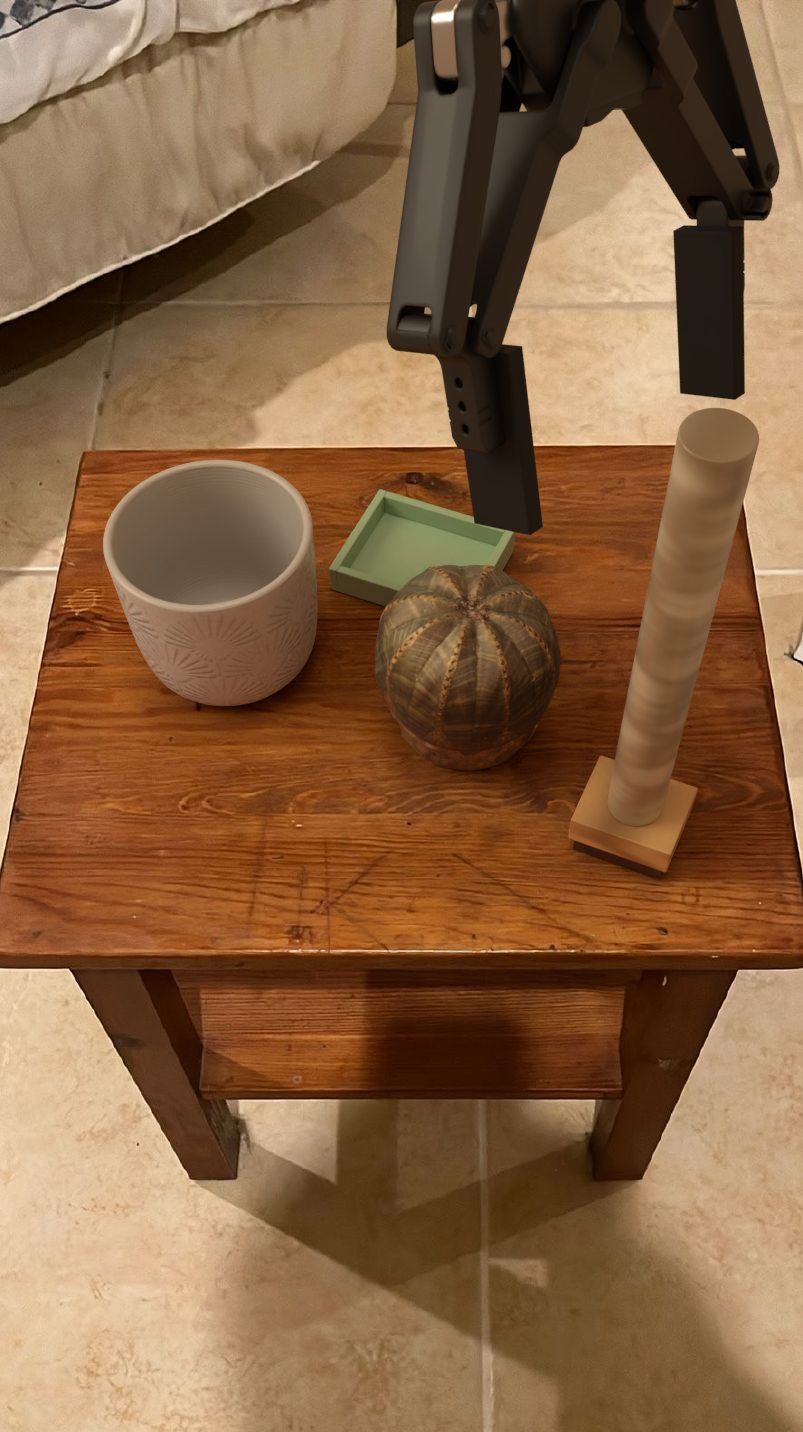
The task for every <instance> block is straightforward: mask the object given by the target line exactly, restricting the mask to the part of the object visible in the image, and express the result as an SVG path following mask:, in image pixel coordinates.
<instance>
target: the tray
mask: <svg viewBox="0 0 803 1432" xmlns="http://www.w3.org/2000/svg"><path fill="white" fill-rule="evenodd" d="M515 541H516V532H512V531H507V530H503V529H498V528H493V527H489V526H484V525H479V524H475V523H474V516H473V515H470V514H469V515H468V514H466V513H463V512H460V511H459V512H458V511H455V510H452V509H449V508H446V507H442V506H439V505H435V504H431V503H429V502H425V501H422V500H418V499H415V498H411V497H408V496H405V495H403V494H398V493H395V492H391V491H387V490H384V489H381V488H380V489H378V490H377V492H376V493H375V495H374V497H373V498H372V500H371V502H370V503H369V505H368V506H367V508H366V510H365V511H364V513H363V514H362V516H361V517H360V519H359V521H358V522H357V523H356V525H355V527H354V528H353V530H352V531H351V533H350V534H349V536H348V537H347V539H346V541H345V542H344V543H343V546H341V549H340V550H339V552H338V553H337V555H336V556H335V558H334V559H333V561H332V563H331V564H330V566H329V567H328V575H329V584H330V589H331V590H333V591H336V592H339V593H342V594H345V595H348V596H351V597H355V598H357V599H361V600H364V601H367V602H369V603H372V604H376V605H380V606H382V607H386V606H387V605H388V604H389V603H390V601H391V600H392V598H393V597H394V595H395V594H396V593H397V592H398V591H399V590H401V589H402V588H403V587H404V586H405V584H406V583H407V582H408V581H409V580H410V579H412V578H414V577H415V576H417V575H419V574H420V573H422V572H424V571H425V570H426V569H427V568H428V567H430V566H442V565H456V566H468V565H492V566H494V567H495V568H497V569H498V570H501V571H503V572H504V569H505V568H506V565H507V564H508V562H509V561H510V558H511V556H512V555H513V553H514V551H515Z"/></svg>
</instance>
